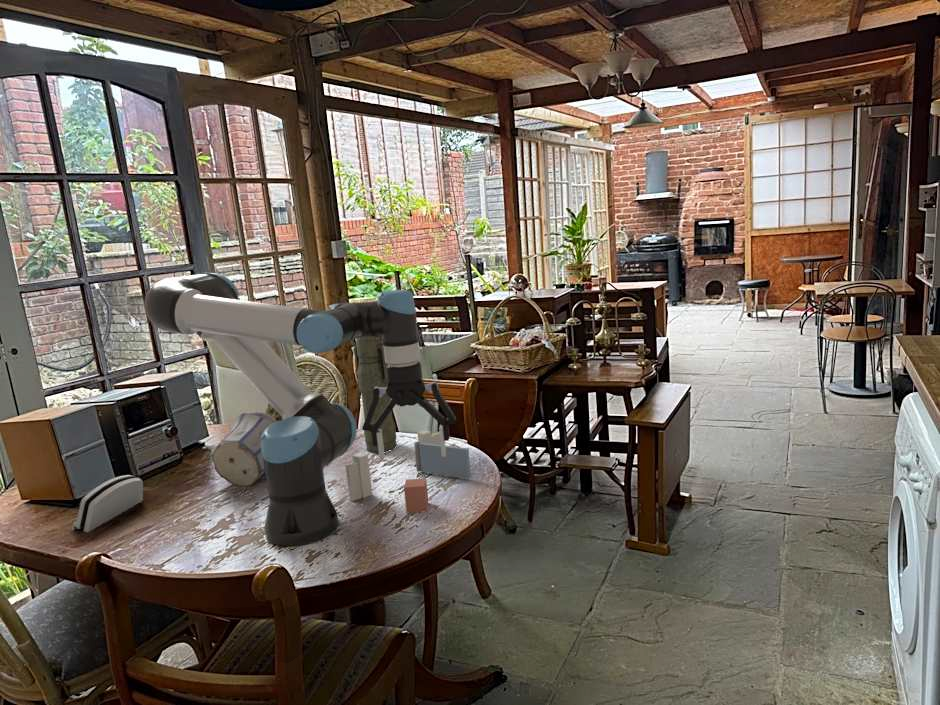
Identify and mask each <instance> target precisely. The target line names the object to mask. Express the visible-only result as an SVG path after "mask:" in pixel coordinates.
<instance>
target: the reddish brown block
mask: <svg viewBox="0 0 940 705" xmlns="http://www.w3.org/2000/svg"><path fill="white" fill-rule="evenodd" d="M427 484H428V483H427V478H425V477H423V478H412V479H409V478H408V479H405V482H404V486H403V491H404V500H405V501H404V502H405V509H406V510H405V511H406V514H410V513H411V512H414V513H423V512H422V511H427V512H428V509H429V508H428V507H429V503H428V502H429V495H428V485H427ZM427 508H428V509H427ZM411 514H412V513H411Z"/></svg>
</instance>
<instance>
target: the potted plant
mask: <svg viewBox="0 0 940 705" xmlns="http://www.w3.org/2000/svg"><path fill="white" fill-rule="evenodd" d="M277 421H283V419H282V417H281V416H280V414H279V413H278V412H277V411H276V410H275V409H274V408H273V407H272V406H271V405H270V403H269V402H267V408H266V410H265V412H263V411H258V412H257V411H251V412H250V411H243V412H241V413H240V414H239V415H238V416H237V417H236V418H235V419H234V421H232V423H231V425H229V426H230V427H229V433H228V434H227V436H225V437H224V438H223V439H222V440H221V441H220V442H219V443H218V444H217V446H216V447H215V449H214V450H213V452H212V454H211V459H212V463H213V467H214V471H215V472H216V473H217V474H218V475H219V476H220V478H221V479H222V478H223V479H224V480H225V481H226V482H228V483H230V484H232V485H234V486H236V487H249V486H252V485H253V484H254V483H255V482H256V481H258V480H259V479H260V478H261V477H262V476H263V475H265V468H264V461H263V457H262V454H261V447H262V446H261V436H262V433H263V432H264V430H265V429H266V428H267V427H269V426H270V425H271V424H273V423H275V422H277Z"/></svg>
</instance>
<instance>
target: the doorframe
mask: <svg viewBox="0 0 940 705" xmlns="http://www.w3.org/2000/svg"><path fill="white" fill-rule="evenodd" d="M417 442H420V443H421V442H422V443H430V444H438V445H441V442H440V432H439V431H436V432H434V433H432V431H430V430H427V429H423V430H420V431H418V432H417ZM352 462H353V463H350V464H347V465H345V471H346V480H347V488H348V495H349V497H348V498H349V501H351V502H354V501H357V500H360V499H365V498H367V497H370V496H372V495H373V489H372V480H371V479H372V478H371V473H370V472H371V471H370V463H369V455H368V454H366V453H364V452H359V453H357V454H354V455H352Z"/></svg>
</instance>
